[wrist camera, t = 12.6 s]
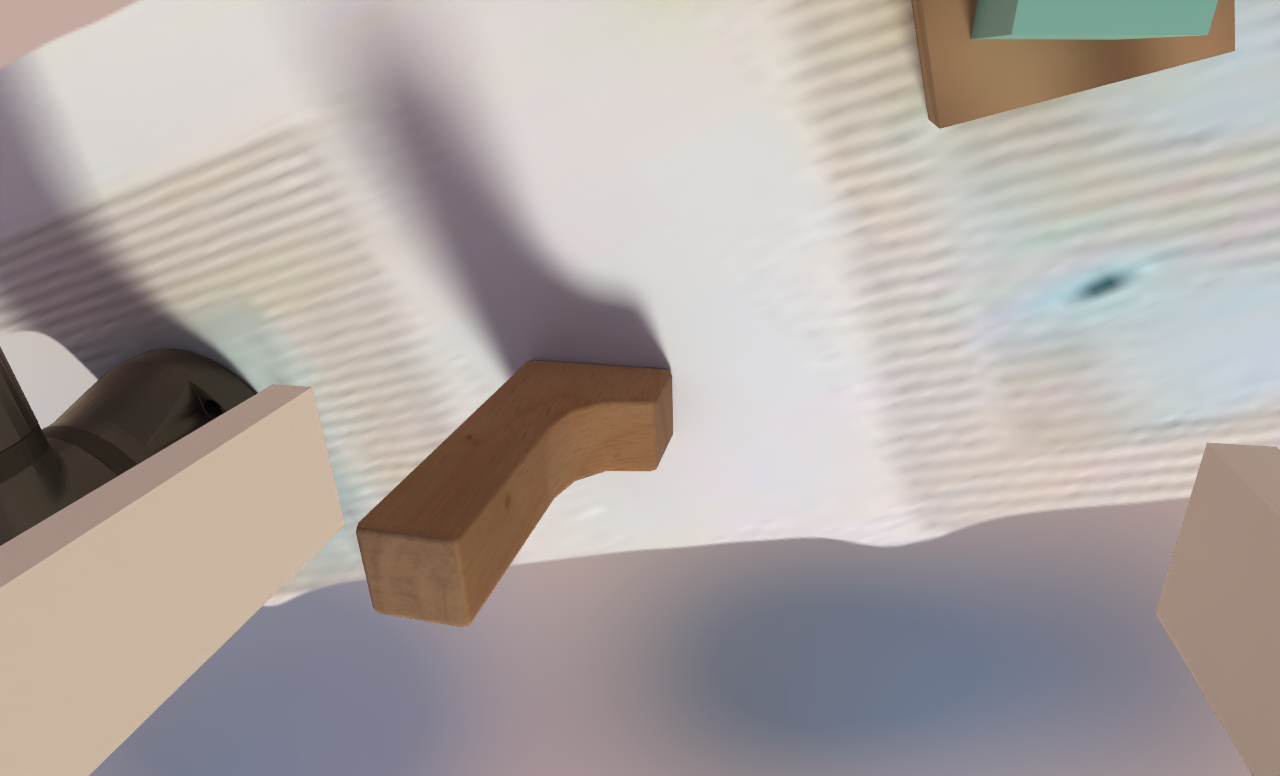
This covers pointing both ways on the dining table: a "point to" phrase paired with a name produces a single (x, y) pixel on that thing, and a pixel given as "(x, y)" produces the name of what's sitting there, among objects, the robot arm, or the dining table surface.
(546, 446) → the wooden block
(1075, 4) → the teal block
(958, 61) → the walnut base block
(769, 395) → the dining table surface
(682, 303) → the dining table surface
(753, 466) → the dining table surface
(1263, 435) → the dining table surface
